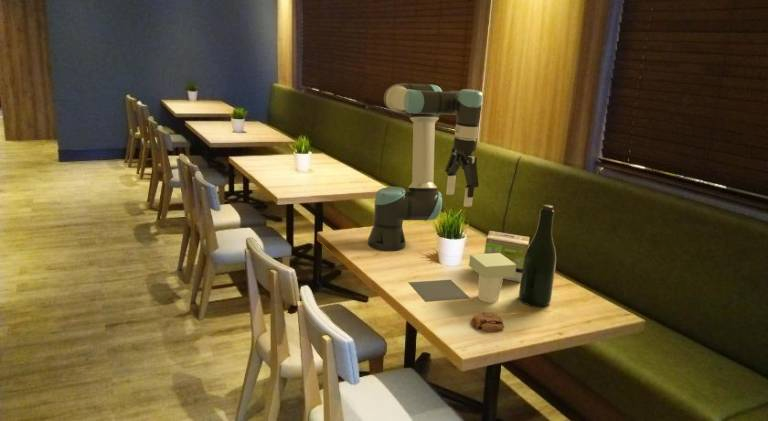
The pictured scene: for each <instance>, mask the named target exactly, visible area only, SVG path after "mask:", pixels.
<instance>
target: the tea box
mask: <svg viewBox="0 0 768 421" xmlns="http://www.w3.org/2000/svg"><path fill="white" fill-rule="evenodd" d="M529 245H530V236H525V235H524V236H523V235H519V234H513V233H508V232H507V233H506V232H501V231H499V232H498V231H493V230H489V231H488V235H487V237H486V240H485V246H484V253H483V254H489V253H501V254H502V255H503V256H505V257H506V258H508V259H509V260H510V261H512V262H513V263H515V264H516V272H515V276H514V277H503V280H509V281H514V282H519V283H520V282H521V276H522V270H523V264H524V259H525V254H526V251H527V248H528V246H529Z"/></svg>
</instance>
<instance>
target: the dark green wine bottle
mask: <svg viewBox="0 0 768 421" xmlns="http://www.w3.org/2000/svg"><path fill="white" fill-rule="evenodd" d="M554 216H555V210H554V206H553V205H551V204H543V205H542V208H540V210H539V218H538V224H537V229H536V232H535V233H534V236H533V238H532V240H531V241H530V242H529V246H528V248H527V251H526V254H525V259H524V264H523V270H522V276H521V282H519V283H520V284H519V291H518V299H519V301H520V302H522V303H524V304H526V305H529V306H531V307H538V308H539V307H541V308H542V307H547V306H548V305H550V304H551V301H552V300H551V299H552V297H553V296H552V294H553V290H554V280H555V275H556V274H555V273H556V264H557V254H556V247H555V244H554V238H553V222H554Z"/></svg>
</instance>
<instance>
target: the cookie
mask: <svg viewBox="0 0 768 421" xmlns="http://www.w3.org/2000/svg"><path fill="white" fill-rule="evenodd" d="M470 322H471V325H472V326H473V327H474V328H475V330H480V331H481V332H485V333H498V332H502V331H503V330H504V329H505V325H504V321H503V319H502V317H501V316H500V315H499V314H497V313H493V312H487V311H486V312H479V313H477V315H476V316H475V315H474V316H473V318H471V320H470Z"/></svg>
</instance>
